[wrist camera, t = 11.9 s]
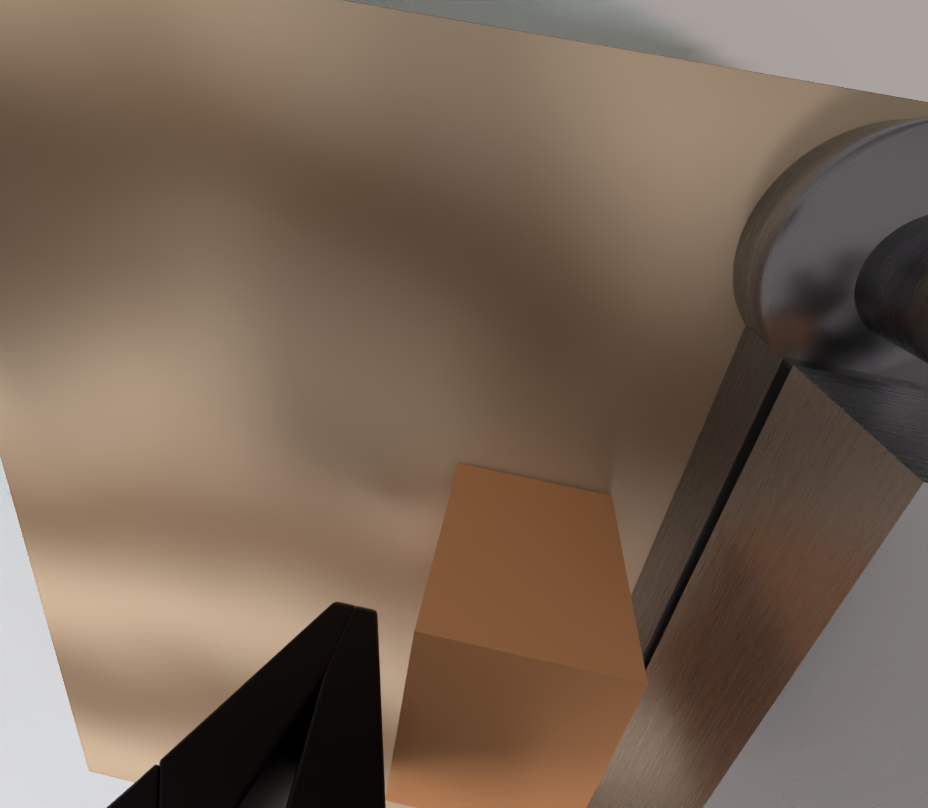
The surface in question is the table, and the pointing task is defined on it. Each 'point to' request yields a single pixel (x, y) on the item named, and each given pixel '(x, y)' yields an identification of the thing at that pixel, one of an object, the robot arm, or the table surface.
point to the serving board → (343, 312)
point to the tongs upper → (799, 622)
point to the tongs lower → (805, 321)
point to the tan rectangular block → (518, 651)
